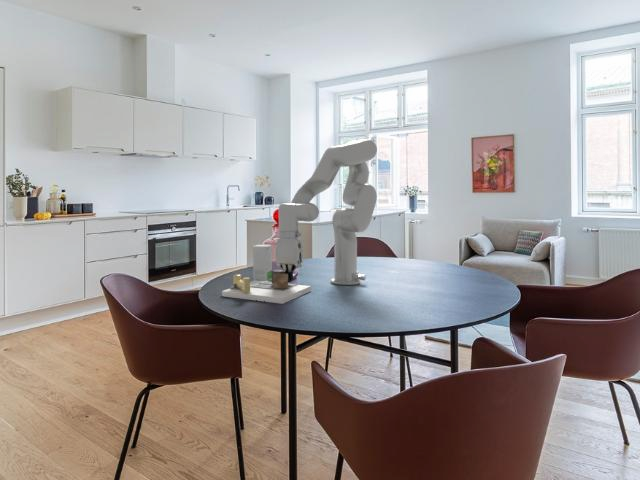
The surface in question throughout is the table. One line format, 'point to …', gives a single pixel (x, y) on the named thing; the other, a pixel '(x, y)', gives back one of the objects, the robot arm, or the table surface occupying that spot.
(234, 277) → the brass lever
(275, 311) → the table surface
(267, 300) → the panel
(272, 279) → the gray slider
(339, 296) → the table surface
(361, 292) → the table surface
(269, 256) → the skincare box
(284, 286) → the walnut slider
